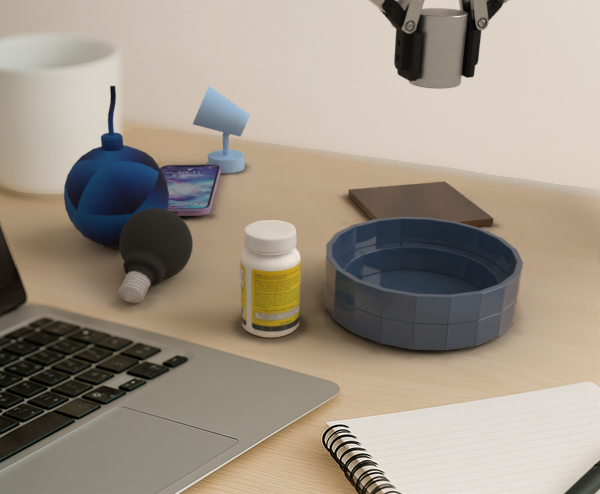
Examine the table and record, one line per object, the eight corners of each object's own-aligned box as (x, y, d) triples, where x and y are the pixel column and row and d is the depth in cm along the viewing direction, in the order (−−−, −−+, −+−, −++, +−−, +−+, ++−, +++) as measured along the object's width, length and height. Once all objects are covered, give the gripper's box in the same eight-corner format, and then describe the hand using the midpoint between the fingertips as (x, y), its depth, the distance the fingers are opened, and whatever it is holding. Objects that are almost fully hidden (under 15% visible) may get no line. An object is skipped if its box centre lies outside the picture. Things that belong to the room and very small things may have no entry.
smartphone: (139, 210, 87) (160, 164, 100) (140, 218, 87) (161, 171, 101) (209, 209, 87) (221, 164, 100) (210, 217, 87) (222, 171, 101)
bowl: (461, 258, 80) (467, 210, 77) (550, 340, 66) (561, 283, 64) (302, 276, 75) (303, 225, 73) (361, 367, 62) (365, 308, 60)
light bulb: (89, 265, 67) (134, 185, 73) (93, 313, 72) (135, 234, 78) (165, 286, 67) (203, 204, 73) (164, 333, 71) (200, 252, 78)
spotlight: (192, 173, 100) (249, 174, 100) (188, 90, 96) (248, 91, 96) (197, 161, 105) (251, 161, 105) (193, 81, 100) (250, 82, 100)
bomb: (182, 222, 86) (174, 77, 80) (159, 266, 77) (148, 105, 70) (90, 219, 87) (74, 74, 80) (56, 262, 77) (35, 102, 70)
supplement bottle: (311, 325, 67) (314, 230, 63) (268, 345, 64) (268, 246, 61) (272, 305, 70) (272, 212, 66) (229, 323, 67) (226, 227, 64)
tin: (446, 75, 76) (452, 7, 73) (469, 87, 72) (477, 15, 69) (400, 78, 75) (404, 9, 72) (421, 90, 71) (427, 17, 68)
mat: (444, 187, 97) (445, 181, 97) (492, 225, 87) (493, 218, 87) (348, 195, 94) (348, 189, 94) (386, 236, 84) (387, 228, 84)
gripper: (525, -157, 70) (499, 62, 79) (337, -160, 66) (330, 72, 74) (576, -159, 64) (541, 80, 72) (372, -163, 59) (360, 91, 68)
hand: (435, 73), depth 73 cm, fingers closed on tin, 4 cm apart
